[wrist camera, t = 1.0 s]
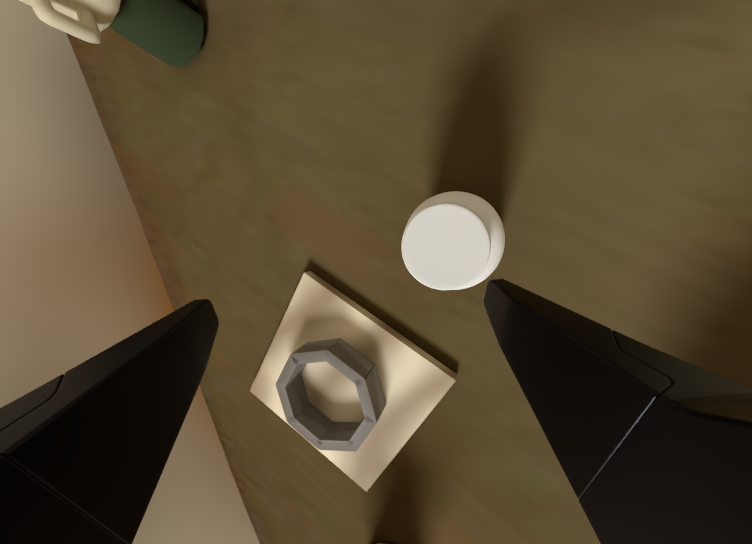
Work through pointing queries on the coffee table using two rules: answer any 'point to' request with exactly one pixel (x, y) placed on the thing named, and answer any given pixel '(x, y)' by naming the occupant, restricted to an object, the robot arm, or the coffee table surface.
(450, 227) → the supplement bottle
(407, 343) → the socket plate
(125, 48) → the coffee table surface
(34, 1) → the character mug
